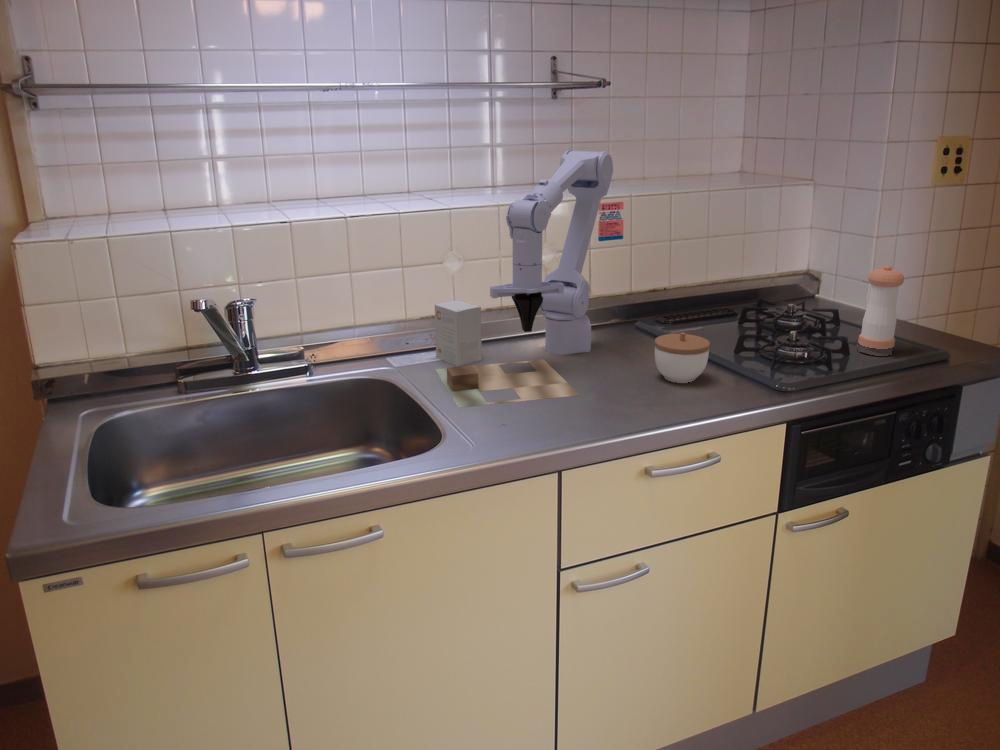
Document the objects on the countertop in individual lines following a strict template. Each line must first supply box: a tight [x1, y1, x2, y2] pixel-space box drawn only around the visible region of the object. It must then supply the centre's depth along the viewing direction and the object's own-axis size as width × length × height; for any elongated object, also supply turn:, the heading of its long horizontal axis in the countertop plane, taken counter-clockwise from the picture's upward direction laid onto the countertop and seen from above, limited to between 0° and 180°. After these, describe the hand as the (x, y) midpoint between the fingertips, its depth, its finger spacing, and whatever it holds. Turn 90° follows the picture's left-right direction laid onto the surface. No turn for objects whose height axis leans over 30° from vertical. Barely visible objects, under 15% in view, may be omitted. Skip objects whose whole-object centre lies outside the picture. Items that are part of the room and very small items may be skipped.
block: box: [446, 365, 479, 391], centre depth 155 cm, size 5×5×3 cm
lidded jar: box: [654, 332, 711, 384], centre depth 162 cm, size 11×11×9 cm
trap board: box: [434, 359, 581, 409], centre depth 158 cm, size 23×22×2 cm
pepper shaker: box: [857, 265, 905, 349], centre depth 176 cm, size 7×7×19 cm
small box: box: [434, 299, 483, 367], centre depth 170 cm, size 8×6×13 cm
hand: (526, 330), depth 163 cm, fingers closed
